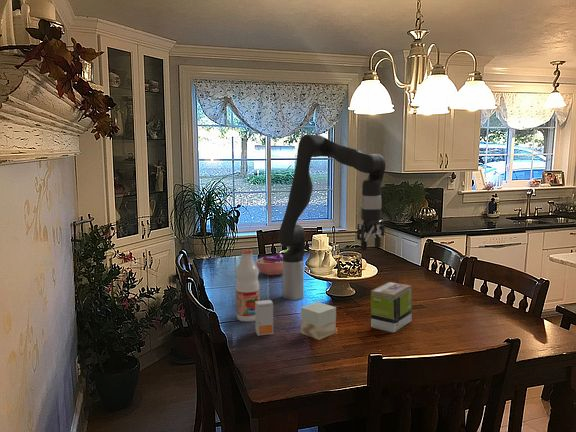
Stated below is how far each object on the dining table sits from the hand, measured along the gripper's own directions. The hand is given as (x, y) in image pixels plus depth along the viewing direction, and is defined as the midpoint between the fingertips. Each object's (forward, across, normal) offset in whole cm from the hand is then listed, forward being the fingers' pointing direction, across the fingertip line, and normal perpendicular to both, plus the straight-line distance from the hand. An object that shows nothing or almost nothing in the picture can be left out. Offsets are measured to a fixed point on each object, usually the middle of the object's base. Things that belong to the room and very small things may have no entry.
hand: (370, 249), depth 185 cm
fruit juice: (+29, +31, -37) cm, 57 cm away
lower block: (+29, +23, -6) cm, 38 cm away
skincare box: (+29, +37, -20) cm, 51 cm away
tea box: (+29, -3, +8) cm, 30 cm away
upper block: (+24, +23, -6) cm, 34 cm away
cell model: (+30, -23, -81) cm, 89 cm away
